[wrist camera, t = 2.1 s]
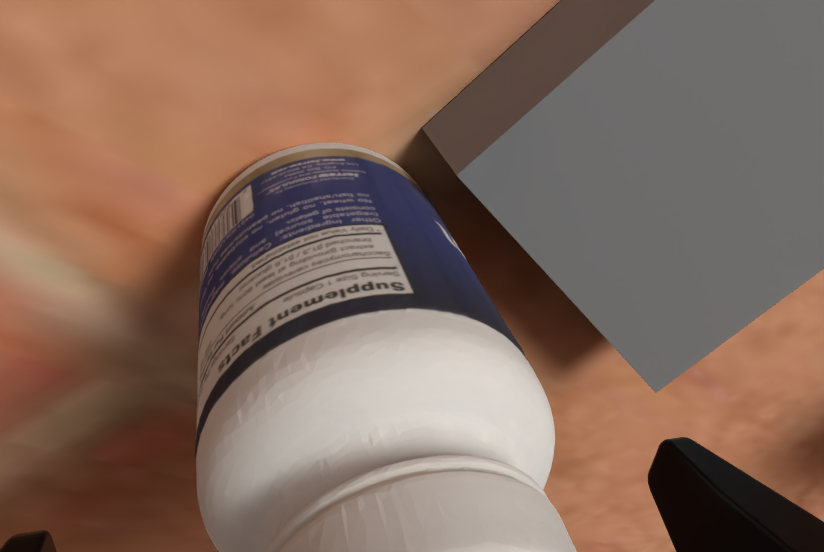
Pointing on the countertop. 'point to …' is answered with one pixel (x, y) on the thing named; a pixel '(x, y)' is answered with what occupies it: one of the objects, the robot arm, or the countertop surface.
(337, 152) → the pill bottle
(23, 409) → the countertop surface
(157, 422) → the countertop surface
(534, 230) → the gray square block
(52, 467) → the countertop surface
